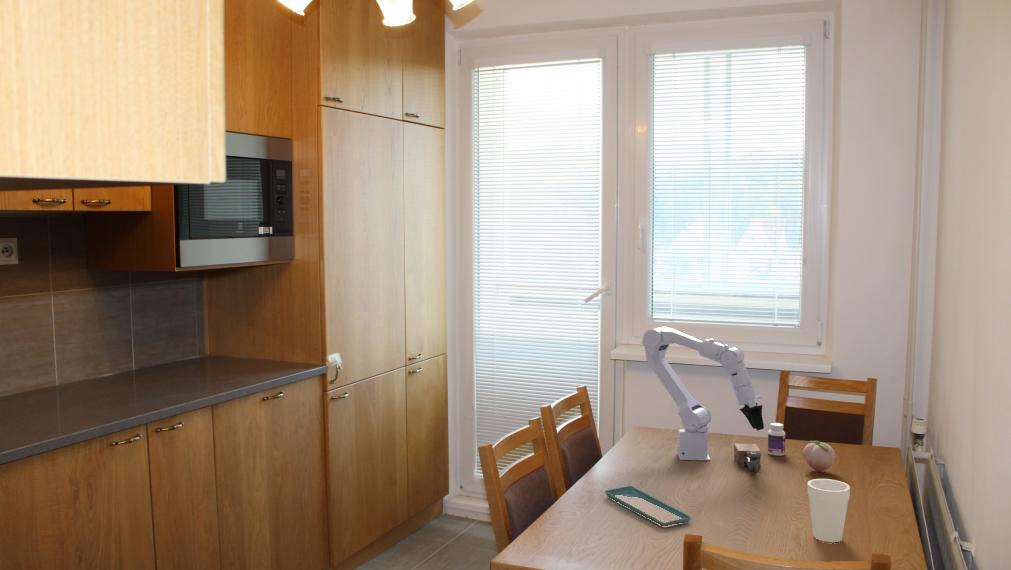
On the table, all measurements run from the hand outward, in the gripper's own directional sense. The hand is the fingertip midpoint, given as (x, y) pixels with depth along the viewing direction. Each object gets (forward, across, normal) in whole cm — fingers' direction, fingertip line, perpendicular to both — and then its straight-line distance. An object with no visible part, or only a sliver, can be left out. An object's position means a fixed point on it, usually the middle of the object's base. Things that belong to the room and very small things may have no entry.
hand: (758, 428), depth 248 cm
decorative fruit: (+18, 0, -12) cm, 22 cm away
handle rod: (+10, +2, +6) cm, 11 cm away
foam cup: (+24, -51, 0) cm, 56 cm away
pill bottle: (+12, +18, -4) cm, 22 cm away
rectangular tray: (+7, -37, +39) cm, 55 cm away
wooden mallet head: (+10, +7, +6) cm, 13 cm away
